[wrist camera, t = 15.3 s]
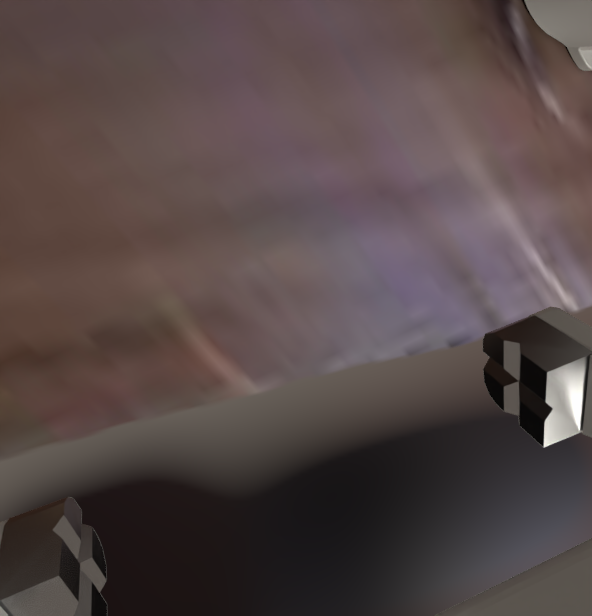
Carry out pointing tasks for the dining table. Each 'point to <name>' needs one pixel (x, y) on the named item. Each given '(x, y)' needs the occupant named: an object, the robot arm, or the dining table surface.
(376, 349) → the dining table surface
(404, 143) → the dining table surface
